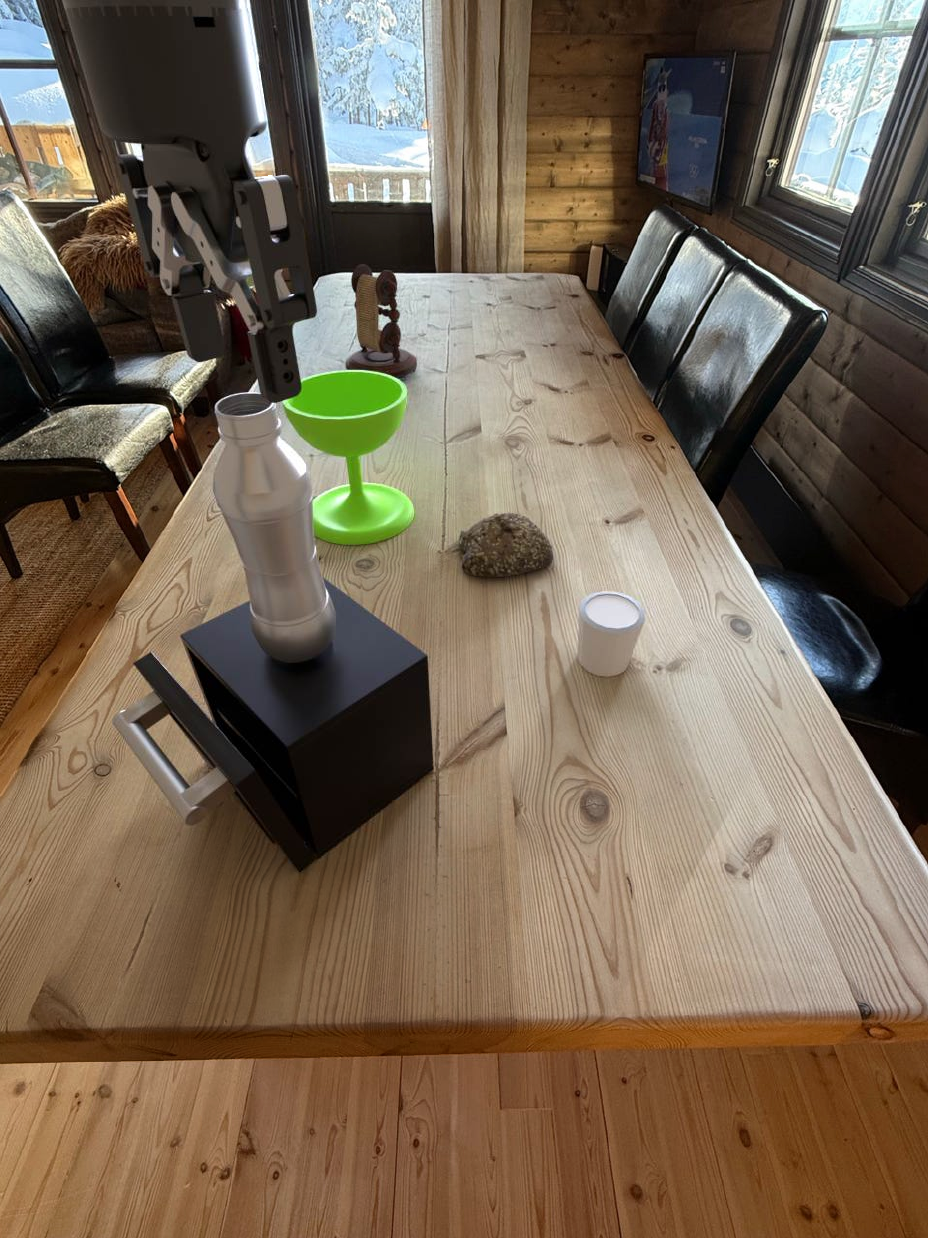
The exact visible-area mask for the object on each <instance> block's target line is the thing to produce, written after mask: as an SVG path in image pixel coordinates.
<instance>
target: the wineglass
mask: <svg viewBox="0 0 928 1238" xmlns="http://www.w3.org/2000/svg"><path fill="white" fill-rule="evenodd" d="M300 379H301V385H302V389H301V392H300V394H299V395H298V396H296V397H293V398H290V399H287V400H284V401H281V404H282V407H283V410H284V413H285V416H286V418H287V420H288V421H289V422H290V424H291V426H292V427H293V429H294V430H295V432H296V433H297V434H298V436H299V437H300V438H301V439H303V440H304V441H305V442H306V443H307V444H309V446H310V447H313V448H315V449H316V450H317V451H320V452H323V453H326V454H328V455H331V456H334V457H339V458H345V461H346V468H347V478H348V483H347V484H343V485H339V486H336V487H333V488H331V489H328V490H326V491H324V492H322V493H321V494H319V495H318V496H316V497H315V498H313V528H314V536H315V537H316V538H318V539H320V540H323V541H325V542H328V543H331V544H332V543H333V544H338V545H344V546H346V545H347V546H359V545H360V546H362V545H369V544H376V543H378V542H382V541H386V540H388V539H390V538H393V537H394V536H397V535H400V533H402V532H403V531H404V530H405V529H407V528H409V526H410V525H411V523H412V522H413V520H414V517H415V513H416V512H415V508H414V504H413V501H411V499H410V498H409V497H408V495H406V493H404V492H402V491H400V490H399V489H397V488H395V487H392V486H389V485H386V484H381V483H375V482H363V481H364V480H363V472H362V463H361V456H366V455H368V454H371V453H373V452H374V451H376V450H378V449H379V448H380V447H382V446H383V445H386V443H388V442H389V441H390V440H391V439H392V437H393V436H394V434H395V433H396V432H397V431H398V429H399V428H400V426H401V424H402V421H403V418H404V415H405V412H406V409H407V405H408V404H407V402H408V389H407V385H406V383H404V382H403V380H402V381H401V379H399V378H398V377H397V378H395V377H393V376H391V375H388V374H384V373H380V372H374V371H366V370H346V369H342V370H332V371H326V372H321V373H316V374H313V375H308V376H307V377H303V378H300Z"/></svg>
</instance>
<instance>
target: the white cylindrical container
mask: <svg viewBox="0 0 928 1238" xmlns="http://www.w3.org/2000/svg"><path fill="white" fill-rule="evenodd" d="M578 609H579V611H578V636H577V639H578V640H577V660H578V663H579V664H580V666H581V667H582V668H583V669H584V670H585V671H587V672H588V673H589V674H593V675H595V676H597V677H598V676H599V677H606V678H609V677H610V678H611V677H614V676H619V675H620V674H622V673H624V672H625V671H626V669H627V668H628V666H629V665H630V662H631V659H632V656H633V653H634V651H635V648H636V645H637V643H638V640H639V638H640V635H641V632H642V629H643V627H644V624H645V621H646V610H645V609H644V607H643V606H642V605H641V603H640V602H639V601H637V600H636V599H635V598H634V597H632V596H631V595H627V594H624V593H622V592H619V591H611V590H601V591H596V592H593V593H591V594H588V595H586V596H584V598H583V599H582V600H581V601H580V603H579V607H578Z"/></svg>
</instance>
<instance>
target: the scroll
mask: <svg viewBox="0 0 928 1238" xmlns="http://www.w3.org/2000/svg"><path fill="white" fill-rule="evenodd" d="M350 280H351V281H350V283H351V284H350V285H351V288H352V292H353V293H354V294H355V295H354V296H355V301H354V304H353V305H354V309H355V320H356V322H355V323H356V335H357V341H358V344H359V346H360V348H361V349H360V350H358V351H356V352H354V353H352V354H351V355H349V356H348V357H347V358H346V359H345V361H344V365H345V370H366V371H374V372H380V373H384V374H388V375H391V376H393V377H395V378H397V379H398V378H401V377H403V376H407V375H409V374H411V373H416V370H417V367H418V360H417V357H416V356H415V354H413V353H411V352H409V351H407V350H405V349H403V348H400V347H401V344H400V342H401V339H402V332H401V328H400V326H399V324H398V323H399V319H400V318H401V313H400V310H399V309H398V302H397V299H396V297H397V296H398V294H397V292H398V280H397V277H396V275H395V273H394V272H393V271H392V270H389V269H385V270H383V271H381V272H380V273H379V274H378V276H375V275H374V274H373V272H372V270H371V268H370V267H369V265H366V264H359V265H357V266H356V267H355V268H354V269H353V272H352V274H351V279H350ZM383 307H389V308H390V309H389V308H383ZM379 316H384V317H385V318H388V319H389V320H390V321H389V322H387V323H386V324H384V326H383V327H382V329H380V328H379V321H380V319H379Z"/></svg>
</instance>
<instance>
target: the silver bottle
mask: <svg viewBox="0 0 928 1238" xmlns="http://www.w3.org/2000/svg"><path fill="white" fill-rule="evenodd" d="M276 404H277V403H271V402H269V401H268V400H266V399H264V398H263V397H262V396H261V394H260V392H253V391H249V392H248V391H247V392H239V393H234V394H229V395H228V396H225V397H222V398H221V399H219V400H218V401H217V402H216V403H215V405H214V413H215V418H216V421H217V424H218V427H217V431H218V435H219V438H220V441H222V442H224V443H225V446H224V448H223V450H222V452H221V453H220V456H219V458H218V460H217V463H216V466H215V468H214V471H213V475H212V476H213V477H212V481H213V483H212V493H213V495H214V498H215V501H216V504H217V506H218V508H219V510H220V512H221V515H222V517H223V519H224V521H225V524H226V525H227V528H228V530H229V532H230V534H231V536H232V538H233V541H234V544H235V547H236V549H237V553H238V556H239V559H240V562H241V564H242V567H243V570H244V575H245V580H246V585H247V593H248V598H249V600H250V618H251V626H252V632H253V634H254V637H255V638H256V640H257V642H258V644H259V646H260V647H261V649H262V650H263V651H264V652H265V653H266V654H268V655H269V656H271V657H273V658H275V659H277V660H279V661H282V662H287V663H299V662H304V661H308V660H311V659H313V658H315V657H317V656H318V655H320V654H321V653H323V652H324V651H325V650H326V648H327V647H328V646H329V644H330V643H331V641H332V640H333V638H334V635H335V629H336V613H335V609H334V606H333V603H332V600H331V598H330V596H329V593H328V591H327V589H326V587H325V584H324V580H323V577H324V576H323V574H322V570H321V567H320V564H319V560H318V553H317V547H316V538H315V537H316V536H315V535H314V528H313V500H314V494H313V490H314V489H313V478H312V474H311V472H310V470H309V468H308V465H307V464H306V462H305V461H304V459H303V458H302V457H301V455H300V454H299V453H298V452H297V451H296V450H295V449H294V448H293V447H292V446H291V445H290V444H289V443H287V441H285V440H284V439H283V438H282V437H280V435H281V434H282V432H283V426H282V421H281V419H280V418H279V415H278V410H277V405H276Z"/></svg>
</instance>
